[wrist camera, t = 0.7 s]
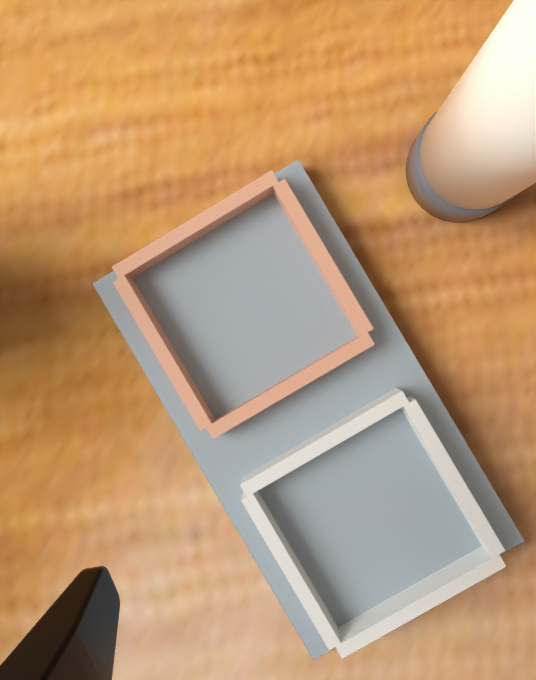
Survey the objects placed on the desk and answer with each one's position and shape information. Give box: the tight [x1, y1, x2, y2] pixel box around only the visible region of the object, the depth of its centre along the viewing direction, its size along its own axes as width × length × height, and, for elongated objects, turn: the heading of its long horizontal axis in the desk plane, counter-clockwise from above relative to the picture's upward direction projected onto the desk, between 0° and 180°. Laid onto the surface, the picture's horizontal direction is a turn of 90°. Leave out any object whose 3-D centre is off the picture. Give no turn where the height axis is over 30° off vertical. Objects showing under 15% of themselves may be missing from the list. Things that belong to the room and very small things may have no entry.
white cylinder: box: [406, 0, 536, 223], centre depth 17 cm, size 5×5×13 cm
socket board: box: [93, 160, 524, 660], centre depth 23 cm, size 20×11×2 cm, turn 31°
